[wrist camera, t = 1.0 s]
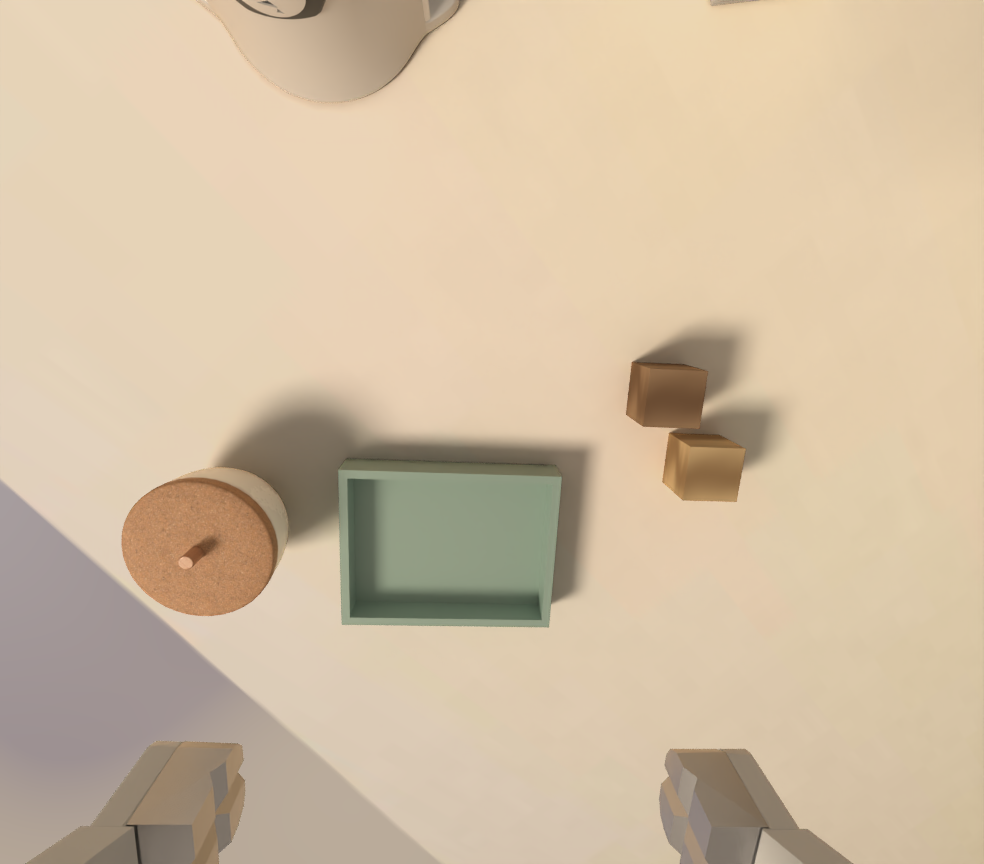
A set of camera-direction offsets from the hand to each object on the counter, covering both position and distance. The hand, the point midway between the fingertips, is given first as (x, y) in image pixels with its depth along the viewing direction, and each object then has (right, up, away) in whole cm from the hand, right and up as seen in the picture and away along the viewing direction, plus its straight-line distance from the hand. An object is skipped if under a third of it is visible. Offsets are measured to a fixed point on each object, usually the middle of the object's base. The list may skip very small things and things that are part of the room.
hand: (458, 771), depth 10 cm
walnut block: (+15, +10, +34) cm, 38 cm away
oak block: (+18, +4, +36) cm, 40 cm away
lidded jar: (-21, 0, +35) cm, 41 cm away
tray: (-3, -3, +36) cm, 36 cm away
